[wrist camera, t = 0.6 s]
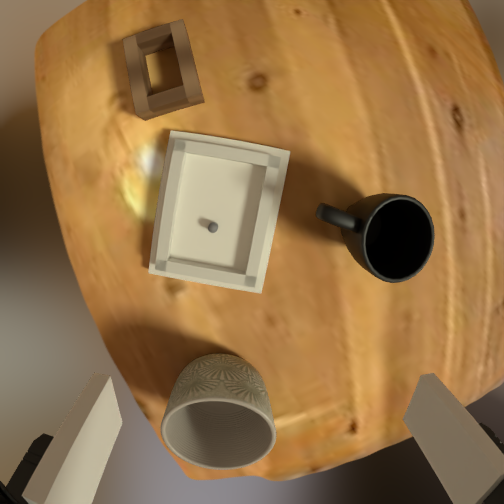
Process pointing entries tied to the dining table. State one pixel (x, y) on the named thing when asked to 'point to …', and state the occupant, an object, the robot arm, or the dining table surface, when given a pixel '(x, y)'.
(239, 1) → the dining table surface
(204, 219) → the white flat rectangular tray
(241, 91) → the dining table surface
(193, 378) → the planter
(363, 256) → the mug
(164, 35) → the frame
